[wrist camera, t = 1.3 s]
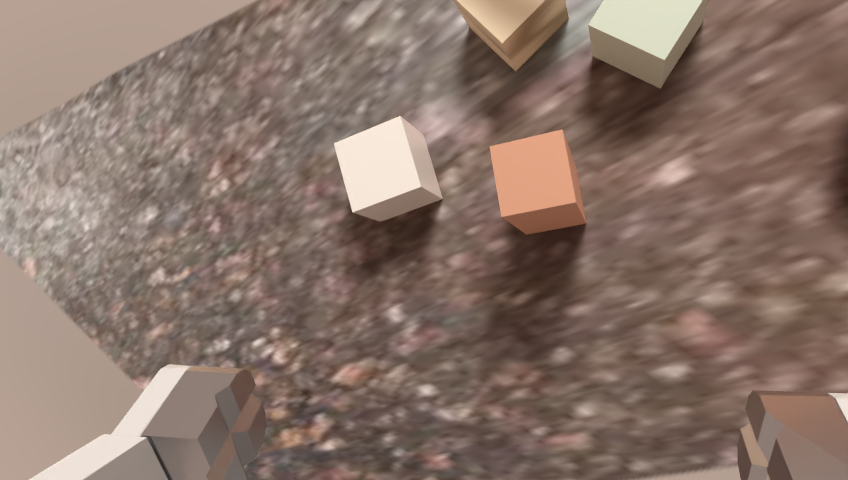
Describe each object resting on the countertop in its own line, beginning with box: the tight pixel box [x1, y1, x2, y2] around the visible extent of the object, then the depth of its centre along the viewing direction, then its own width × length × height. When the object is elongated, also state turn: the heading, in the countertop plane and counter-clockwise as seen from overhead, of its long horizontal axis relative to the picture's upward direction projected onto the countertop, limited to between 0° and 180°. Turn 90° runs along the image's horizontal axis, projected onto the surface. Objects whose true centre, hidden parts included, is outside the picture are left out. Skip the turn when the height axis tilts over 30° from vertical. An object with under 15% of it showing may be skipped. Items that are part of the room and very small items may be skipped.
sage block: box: [588, 0, 709, 89], centre depth 38 cm, size 5×5×5 cm
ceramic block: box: [334, 116, 443, 222], centre depth 43 cm, size 5×5×5 cm
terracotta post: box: [490, 130, 586, 235], centre depth 37 cm, size 4×4×9 cm
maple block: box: [454, 0, 569, 71], centre depth 41 cm, size 5×5×5 cm
